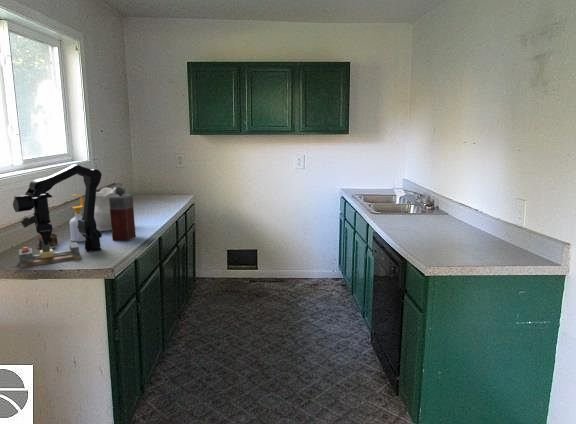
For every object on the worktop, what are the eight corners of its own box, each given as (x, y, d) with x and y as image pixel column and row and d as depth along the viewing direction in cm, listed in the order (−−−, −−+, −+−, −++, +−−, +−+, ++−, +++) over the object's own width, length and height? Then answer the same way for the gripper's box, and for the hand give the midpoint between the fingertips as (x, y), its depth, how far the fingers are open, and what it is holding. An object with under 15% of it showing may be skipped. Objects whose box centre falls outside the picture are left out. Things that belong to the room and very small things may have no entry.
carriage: (52, 254, 206) (50, 238, 204) (53, 256, 202) (51, 240, 200) (40, 255, 203) (38, 239, 202) (40, 258, 199) (38, 242, 198)
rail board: (78, 252, 214) (77, 241, 213) (81, 258, 205) (80, 247, 204) (20, 261, 202) (18, 249, 201) (20, 267, 193) (19, 255, 192)
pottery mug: (31, 249, 223) (34, 233, 226) (49, 253, 231) (52, 238, 234) (46, 246, 218) (49, 229, 220) (64, 250, 225) (66, 234, 228)
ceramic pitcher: (107, 236, 251) (106, 192, 246) (76, 232, 255) (75, 188, 250) (128, 227, 272) (128, 187, 267) (99, 224, 275) (98, 184, 270)
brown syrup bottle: (137, 235, 247) (133, 185, 241) (128, 240, 236) (124, 188, 230) (122, 235, 248) (117, 185, 242) (112, 240, 237) (107, 188, 231)
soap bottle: (69, 239, 240) (64, 194, 235) (87, 236, 246) (82, 192, 241) (73, 242, 233) (69, 196, 229) (92, 239, 239) (87, 194, 234)
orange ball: (28, 252, 200) (28, 246, 199) (28, 253, 198) (28, 247, 197) (22, 252, 198) (21, 247, 198) (22, 254, 196) (21, 248, 196)
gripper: (20, 207, 202) (24, 240, 205) (20, 214, 186) (25, 250, 190) (47, 204, 208) (51, 237, 211) (50, 211, 192) (54, 246, 195)
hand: (45, 242), depth 201 cm, fingers open, 9 cm apart
